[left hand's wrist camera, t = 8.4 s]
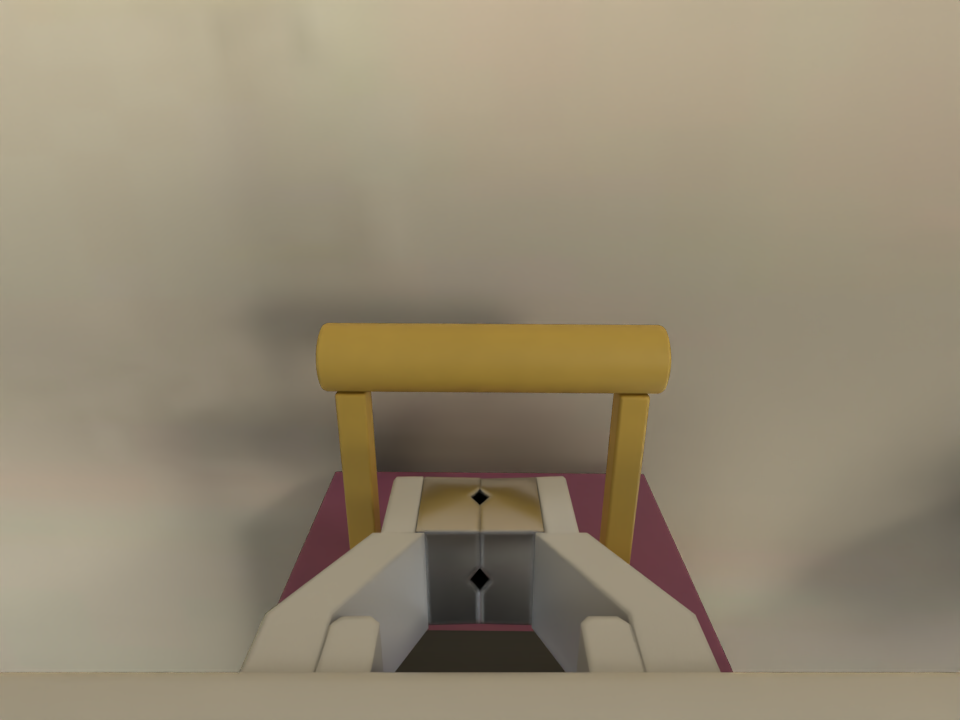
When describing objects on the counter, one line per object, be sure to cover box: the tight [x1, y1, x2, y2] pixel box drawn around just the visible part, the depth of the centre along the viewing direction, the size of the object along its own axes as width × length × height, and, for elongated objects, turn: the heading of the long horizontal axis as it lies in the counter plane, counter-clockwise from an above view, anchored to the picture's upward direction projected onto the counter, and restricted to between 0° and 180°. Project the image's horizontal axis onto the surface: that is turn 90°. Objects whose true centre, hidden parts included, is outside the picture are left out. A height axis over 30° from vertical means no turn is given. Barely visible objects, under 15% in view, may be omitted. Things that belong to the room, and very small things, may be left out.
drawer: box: [277, 323, 733, 672], centre depth 15 cm, size 21×9×8 cm, turn 0°
